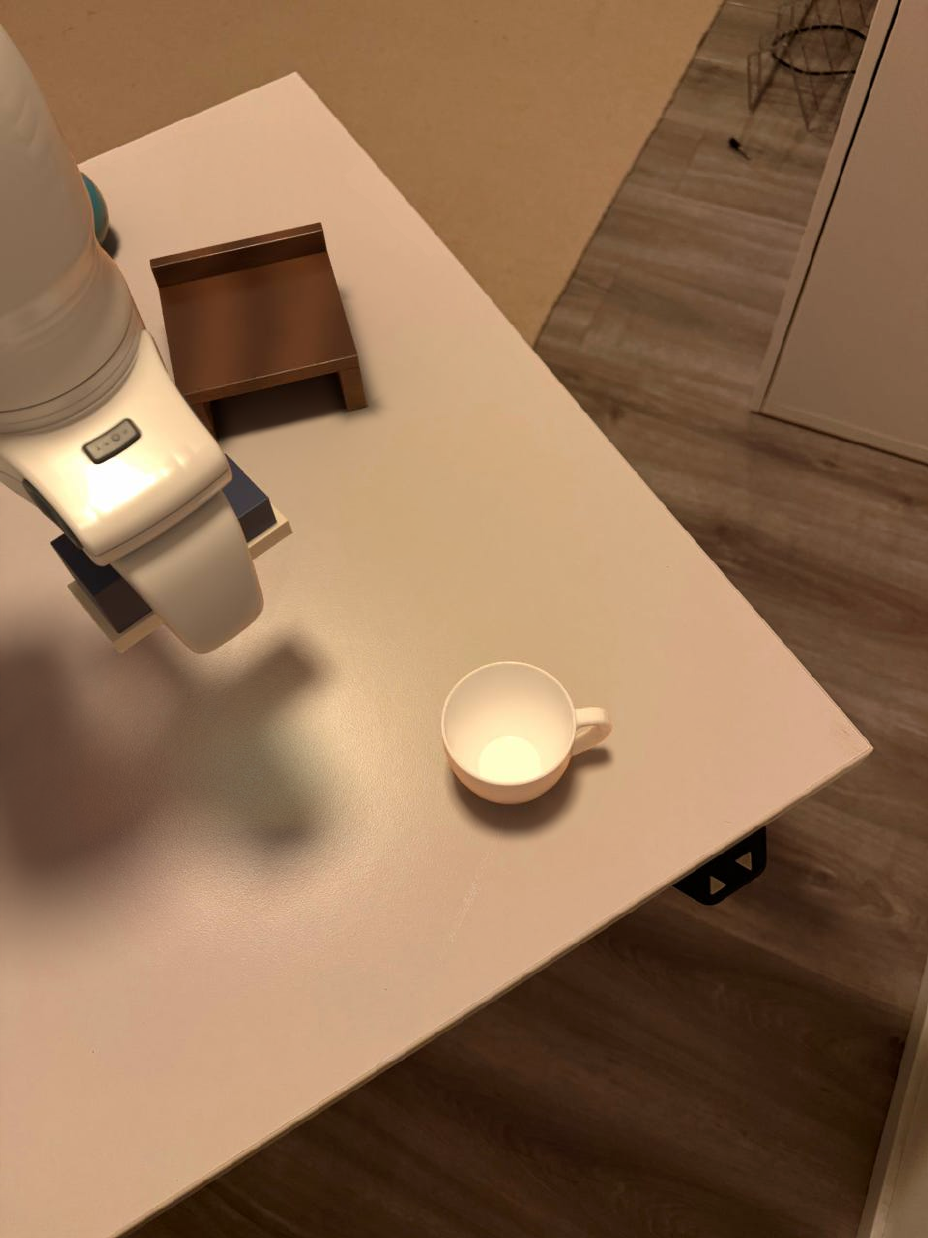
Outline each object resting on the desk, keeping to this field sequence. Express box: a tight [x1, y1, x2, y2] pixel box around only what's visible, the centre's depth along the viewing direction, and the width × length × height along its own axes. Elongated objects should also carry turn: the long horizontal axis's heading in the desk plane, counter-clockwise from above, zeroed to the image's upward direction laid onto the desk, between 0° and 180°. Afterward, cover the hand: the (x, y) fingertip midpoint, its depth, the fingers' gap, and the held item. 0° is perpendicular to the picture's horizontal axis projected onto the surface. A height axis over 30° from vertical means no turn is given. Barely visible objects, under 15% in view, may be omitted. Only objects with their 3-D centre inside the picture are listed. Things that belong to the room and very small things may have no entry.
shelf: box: [149, 222, 368, 443], centre depth 83 cm, size 13×12×8 cm
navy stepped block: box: [49, 452, 293, 655], centre depth 57 cm, size 11×5×5 cm, turn 131°
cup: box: [440, 660, 613, 805], centre depth 66 cm, size 8×10×7 cm
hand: (149, 559), depth 57 cm, fingers closed on navy stepped block, 4 cm apart
